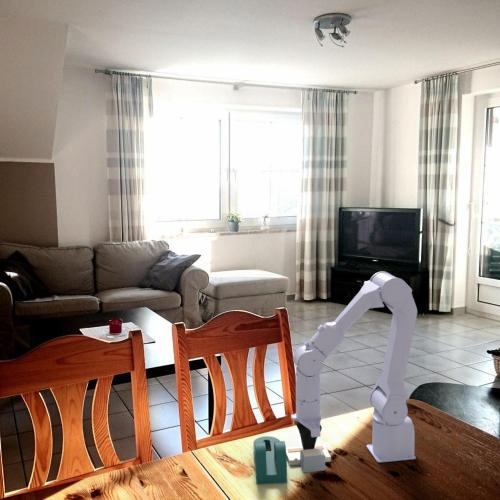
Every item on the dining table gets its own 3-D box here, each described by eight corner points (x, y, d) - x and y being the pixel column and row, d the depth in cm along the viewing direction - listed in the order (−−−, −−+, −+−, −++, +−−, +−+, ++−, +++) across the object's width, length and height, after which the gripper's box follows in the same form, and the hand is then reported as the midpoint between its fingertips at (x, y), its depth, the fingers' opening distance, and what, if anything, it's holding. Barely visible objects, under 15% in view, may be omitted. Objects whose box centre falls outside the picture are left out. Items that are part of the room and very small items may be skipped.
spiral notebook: (323, 448, 135) (323, 443, 134) (330, 461, 129) (330, 455, 129) (284, 452, 133) (284, 447, 133) (289, 465, 127) (289, 459, 127)
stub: (320, 462, 128) (320, 447, 128) (325, 470, 125) (325, 455, 124) (300, 464, 127) (300, 449, 127) (303, 472, 124) (303, 457, 123)
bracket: (287, 483, 120) (286, 450, 119) (256, 485, 120) (255, 451, 119) (279, 444, 138) (279, 414, 137) (252, 445, 138) (252, 415, 137)
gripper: (285, 386, 134) (285, 438, 136) (298, 411, 120) (299, 469, 122) (312, 384, 135) (313, 436, 137) (329, 409, 121) (329, 466, 123)
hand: (308, 451), depth 129 cm, fingers closed
